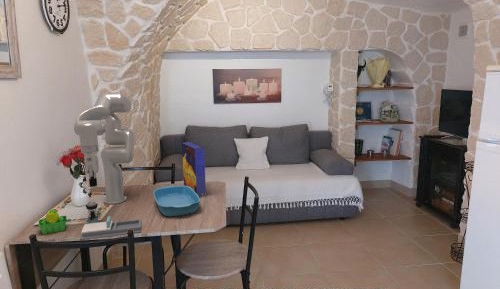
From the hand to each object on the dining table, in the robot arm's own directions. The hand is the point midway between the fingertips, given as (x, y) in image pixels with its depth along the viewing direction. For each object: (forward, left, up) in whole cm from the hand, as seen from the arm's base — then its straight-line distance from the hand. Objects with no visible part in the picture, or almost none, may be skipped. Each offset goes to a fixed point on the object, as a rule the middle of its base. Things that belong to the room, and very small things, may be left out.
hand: (93, 186), depth 168 cm
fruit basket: (+4, -18, -19) cm, 26 cm away
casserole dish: (-11, +39, -19) cm, 45 cm away
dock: (+12, +8, -19) cm, 24 cm away
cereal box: (-33, +52, -19) cm, 64 cm away
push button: (-1, -1, -19) cm, 19 cm away
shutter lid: (+12, +2, -16) cm, 21 cm away
